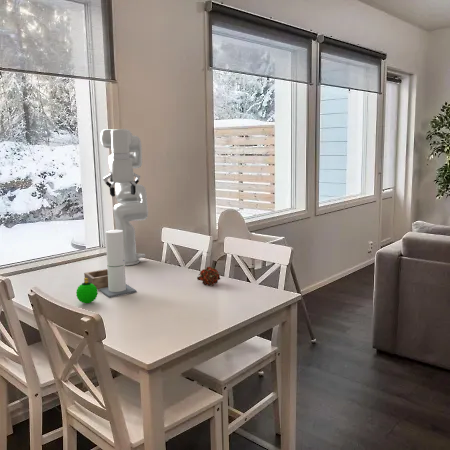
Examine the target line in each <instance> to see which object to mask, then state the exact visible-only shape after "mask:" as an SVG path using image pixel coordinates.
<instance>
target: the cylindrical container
mask: <svg viewBox="0 0 450 450" xmlns="http://www.w3.org/2000/svg"><path fill="white" fill-rule="evenodd" d="M104 233H105V250H106V251H105V252H106V264H107V268H106V269H108V286H109V291H111V292H120V291H124V290H126V284H127V282H126V280H127V279H126V266H125V260H124V241H123V230H116V229H109V230H106V231H105V232H104Z"/></svg>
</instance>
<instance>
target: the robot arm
mask: <svg viewBox="0 0 450 450" xmlns="http://www.w3.org/2000/svg"><path fill="white" fill-rule="evenodd" d="M100 142H101V145H102V147H103V148H104V149H105V148H106V149H111V154H110V155H108V158H107V159H108V161H107V163H108V166H109V174H107V175H105V176H104V177H103V178H102V180H103V181H104V184H105V185H106V186H107V187H108V188H109V195H110V196H111V197H115V199H116V202H117V203H116V204H114V206H113V209H112V213H113V218H114V223H115V230H123V241H124V260H125V267H126V266H135V265H137V264H139V263H140V259H141V258H146V253H138V252H137V245H136V244H137V243H136V241H137V240H136V230H135V227H134V225H133V224H132V223H131V222H133V221H135V222H136V221H146V220H147V219H148V216H149V207H148V197H147V190H146V187H145V186H144V185H143V184H140V183H139V182H140V179H141V175H139V174H137V173H135V172H134V169H140V168H141V167H142V165H143V148H142V141H141V139H140V137H139V136H138V135H133V133H132V131H131V130H130V129H127V128H117V129H116V128H112V129H108V128H107V129H102V130H101V132H100ZM138 183H139V184H138Z"/></svg>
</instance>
